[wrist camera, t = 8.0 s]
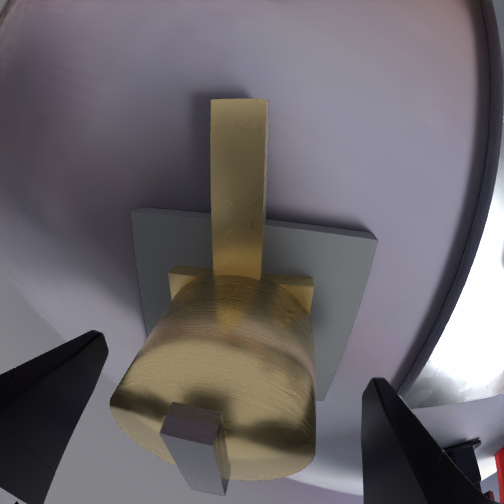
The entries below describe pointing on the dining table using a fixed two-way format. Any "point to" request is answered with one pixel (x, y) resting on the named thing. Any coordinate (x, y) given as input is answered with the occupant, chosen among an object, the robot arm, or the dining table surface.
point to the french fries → (500, 472)
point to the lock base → (472, 277)
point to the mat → (275, 262)
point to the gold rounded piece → (228, 337)
